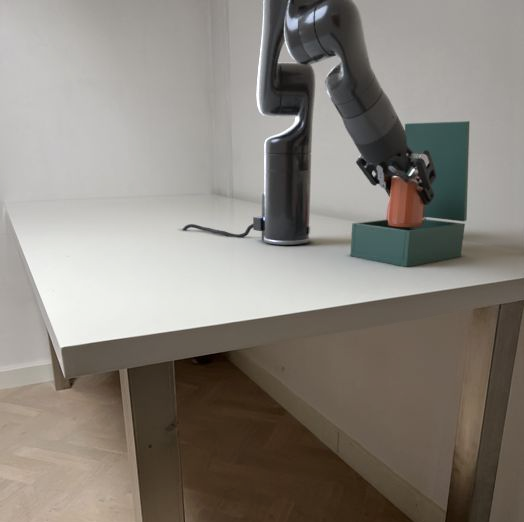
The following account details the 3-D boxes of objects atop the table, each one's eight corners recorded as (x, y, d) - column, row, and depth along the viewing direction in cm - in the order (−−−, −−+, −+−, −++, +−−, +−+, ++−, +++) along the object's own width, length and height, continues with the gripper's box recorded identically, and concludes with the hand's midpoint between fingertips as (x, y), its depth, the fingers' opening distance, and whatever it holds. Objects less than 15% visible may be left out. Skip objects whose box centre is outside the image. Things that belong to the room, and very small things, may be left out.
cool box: (406, 266, 91) (409, 231, 89) (350, 255, 100) (352, 223, 98) (461, 256, 100) (465, 223, 98) (404, 246, 109) (407, 216, 107)
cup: (380, 224, 98) (384, 177, 95) (402, 222, 102) (406, 176, 99) (408, 228, 94) (412, 178, 91) (429, 225, 97) (434, 177, 94)
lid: (466, 121, 91) (485, 116, 93) (404, 124, 100) (423, 119, 103) (464, 221, 98) (481, 214, 101) (406, 215, 107) (423, 208, 110)
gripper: (423, 104, 82) (460, 185, 93) (351, 109, 92) (391, 182, 103) (397, 142, 80) (437, 220, 91) (327, 143, 91) (371, 212, 102)
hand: (413, 199), depth 97 cm, fingers closed on cup, 6 cm apart
